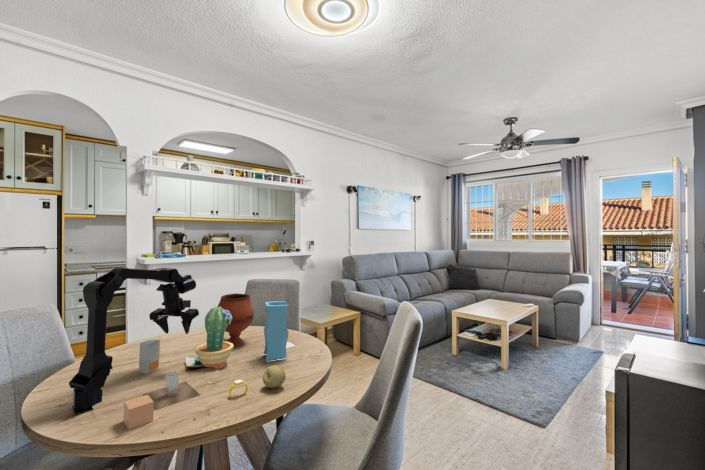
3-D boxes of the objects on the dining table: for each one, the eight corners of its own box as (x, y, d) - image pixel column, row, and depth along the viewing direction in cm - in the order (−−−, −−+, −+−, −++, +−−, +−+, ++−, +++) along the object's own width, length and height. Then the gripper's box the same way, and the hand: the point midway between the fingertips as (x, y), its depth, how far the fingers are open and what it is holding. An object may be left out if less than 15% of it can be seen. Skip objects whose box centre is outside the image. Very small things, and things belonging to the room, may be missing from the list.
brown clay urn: (227, 337, 175) (228, 291, 175) (260, 339, 171) (261, 293, 172) (205, 348, 156) (207, 298, 156) (241, 352, 153) (243, 300, 153)
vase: (287, 360, 144) (289, 305, 144) (265, 362, 140) (267, 306, 141) (284, 352, 153) (285, 300, 153) (263, 354, 150) (264, 301, 150)
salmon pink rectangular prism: (128, 433, 89) (129, 409, 89) (123, 424, 93) (124, 401, 93) (152, 424, 93) (153, 401, 93) (147, 416, 97) (147, 394, 97)
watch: (230, 403, 106) (229, 385, 106) (228, 399, 109) (227, 382, 109) (248, 397, 110) (247, 380, 110) (246, 393, 112) (245, 377, 112)
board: (154, 413, 98) (154, 410, 98) (141, 397, 108) (142, 394, 108) (200, 397, 109) (200, 394, 109) (185, 384, 118) (185, 381, 118)
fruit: (261, 384, 119) (262, 363, 120) (283, 381, 122) (284, 360, 122) (263, 394, 112) (263, 371, 112) (286, 390, 115) (287, 368, 115)
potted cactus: (215, 375, 126) (217, 312, 127) (185, 369, 131) (187, 309, 132) (240, 361, 141) (242, 305, 141) (213, 356, 146) (214, 302, 146)
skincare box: (147, 374, 126) (148, 344, 126) (138, 372, 127) (139, 343, 127) (159, 368, 132) (160, 339, 132) (150, 367, 133) (151, 338, 133)
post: (168, 397, 106) (168, 376, 106) (165, 394, 108) (165, 374, 108) (177, 394, 108) (178, 374, 109) (174, 391, 110) (175, 371, 111)
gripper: (204, 291, 136) (209, 325, 138) (165, 290, 138) (170, 324, 141) (187, 301, 125) (193, 337, 127) (145, 300, 128) (151, 336, 130)
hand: (177, 333), depth 132 cm, fingers open, 9 cm apart
